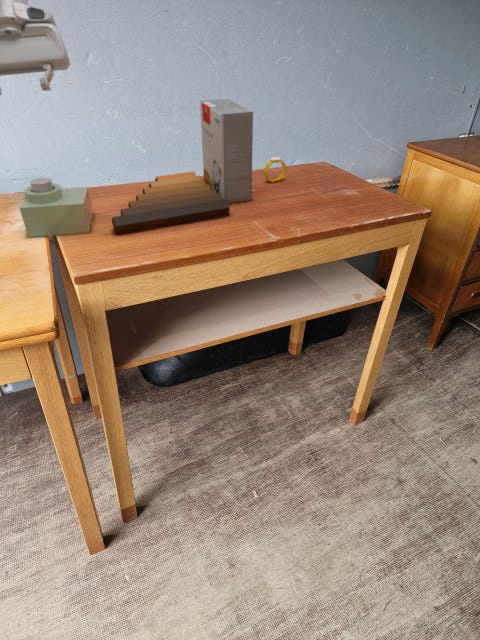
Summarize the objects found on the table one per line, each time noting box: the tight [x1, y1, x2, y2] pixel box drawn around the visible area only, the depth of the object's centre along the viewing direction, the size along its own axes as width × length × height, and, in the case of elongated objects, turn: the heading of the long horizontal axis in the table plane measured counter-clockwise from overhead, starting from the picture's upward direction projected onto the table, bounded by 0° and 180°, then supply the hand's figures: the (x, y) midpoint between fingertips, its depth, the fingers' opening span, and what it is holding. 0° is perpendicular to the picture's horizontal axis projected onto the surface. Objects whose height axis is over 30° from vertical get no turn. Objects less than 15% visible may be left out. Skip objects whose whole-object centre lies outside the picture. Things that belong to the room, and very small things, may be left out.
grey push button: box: [29, 177, 53, 193], centre depth 89 cm, size 4×4×2 cm
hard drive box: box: [199, 98, 254, 204], centre depth 105 cm, size 16×8×20 cm, turn 21°
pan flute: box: [111, 171, 231, 236], centre depth 102 cm, size 25×3×25 cm
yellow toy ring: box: [263, 156, 287, 183], centre depth 116 cm, size 6×3×6 cm, turn 118°
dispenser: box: [19, 182, 94, 238], centre depth 92 cm, size 12×10×8 cm
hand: (21, 91), depth 88 cm, fingers open, 8 cm apart
